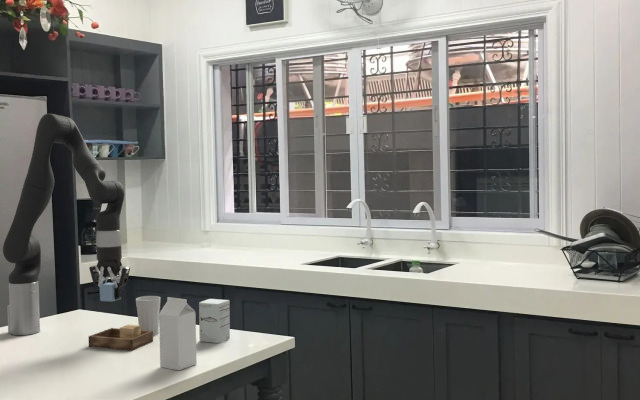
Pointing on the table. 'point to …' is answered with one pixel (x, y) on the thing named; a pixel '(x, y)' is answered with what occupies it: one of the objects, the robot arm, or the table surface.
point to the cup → (148, 313)
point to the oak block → (130, 331)
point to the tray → (119, 340)
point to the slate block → (107, 292)
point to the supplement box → (214, 320)
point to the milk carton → (177, 334)
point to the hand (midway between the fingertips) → (110, 298)
